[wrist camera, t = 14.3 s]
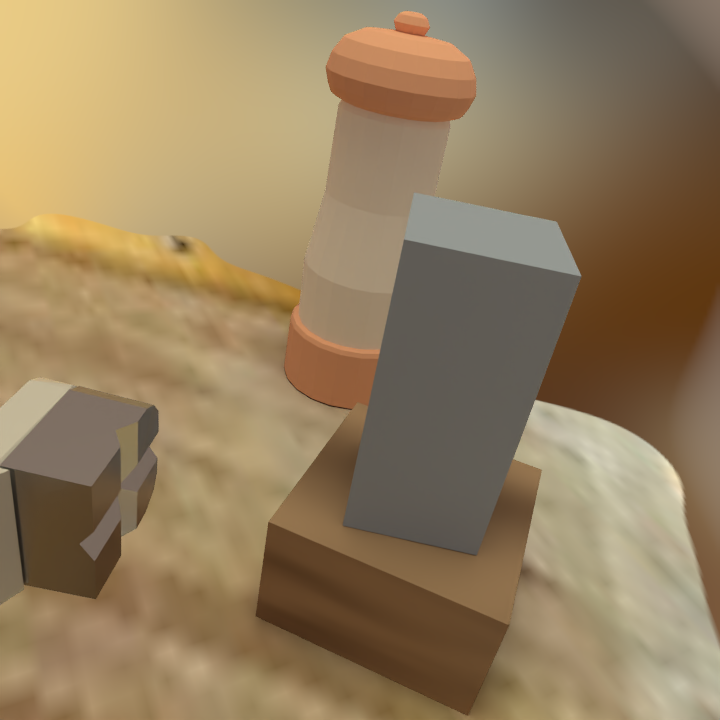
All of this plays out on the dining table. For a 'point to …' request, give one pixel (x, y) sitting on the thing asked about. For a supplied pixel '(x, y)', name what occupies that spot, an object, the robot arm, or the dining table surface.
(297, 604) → the walnut block
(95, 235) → the dining table surface
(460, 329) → the gray brick
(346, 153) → the pepper shaker
